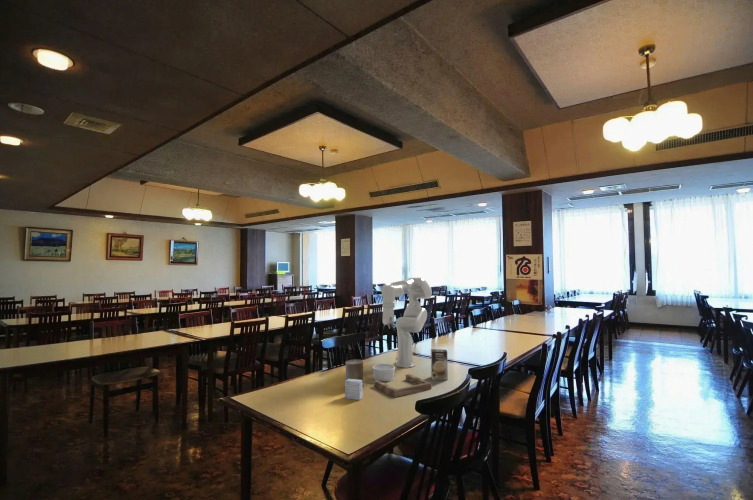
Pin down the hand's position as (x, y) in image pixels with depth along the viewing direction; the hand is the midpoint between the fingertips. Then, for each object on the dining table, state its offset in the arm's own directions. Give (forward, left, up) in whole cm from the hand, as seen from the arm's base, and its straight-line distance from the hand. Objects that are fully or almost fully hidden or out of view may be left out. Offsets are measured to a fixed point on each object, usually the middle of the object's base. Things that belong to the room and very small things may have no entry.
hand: (388, 333), depth 218 cm
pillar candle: (+9, -29, -24) cm, 39 cm away
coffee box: (+23, +19, -24) cm, 39 cm away
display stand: (+24, -8, -24) cm, 35 cm away
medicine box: (+24, -37, -24) cm, 50 cm away
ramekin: (+6, -8, -25) cm, 26 cm away
